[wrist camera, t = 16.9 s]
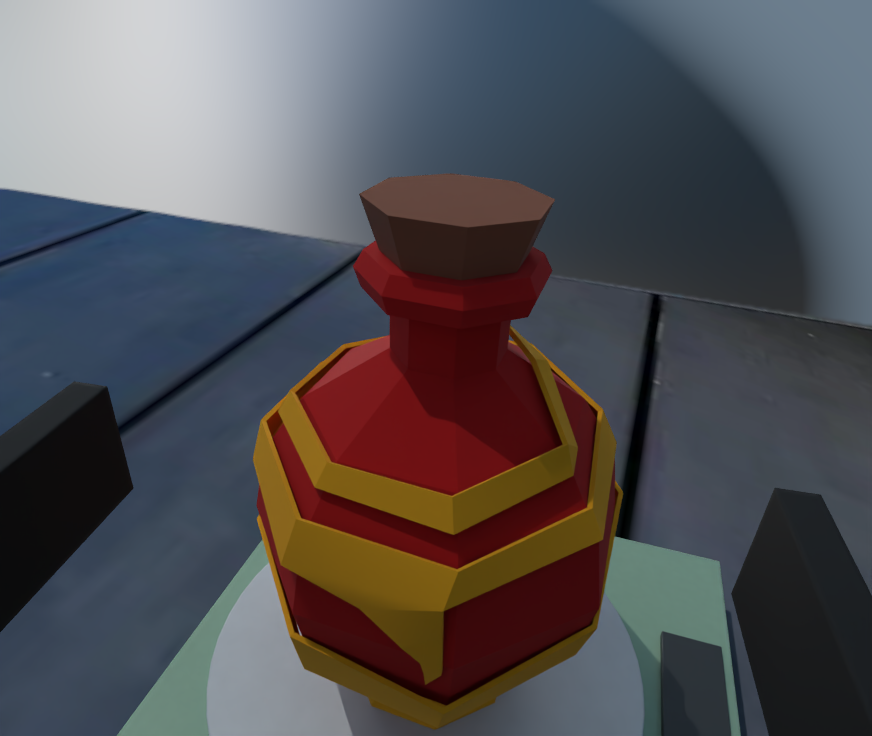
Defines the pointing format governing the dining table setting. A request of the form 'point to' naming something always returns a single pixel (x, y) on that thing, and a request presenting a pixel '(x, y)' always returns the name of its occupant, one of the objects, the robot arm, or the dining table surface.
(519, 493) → the potion bottle
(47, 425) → the robot arm
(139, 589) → the dining table surface
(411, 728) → the kitchen scale
